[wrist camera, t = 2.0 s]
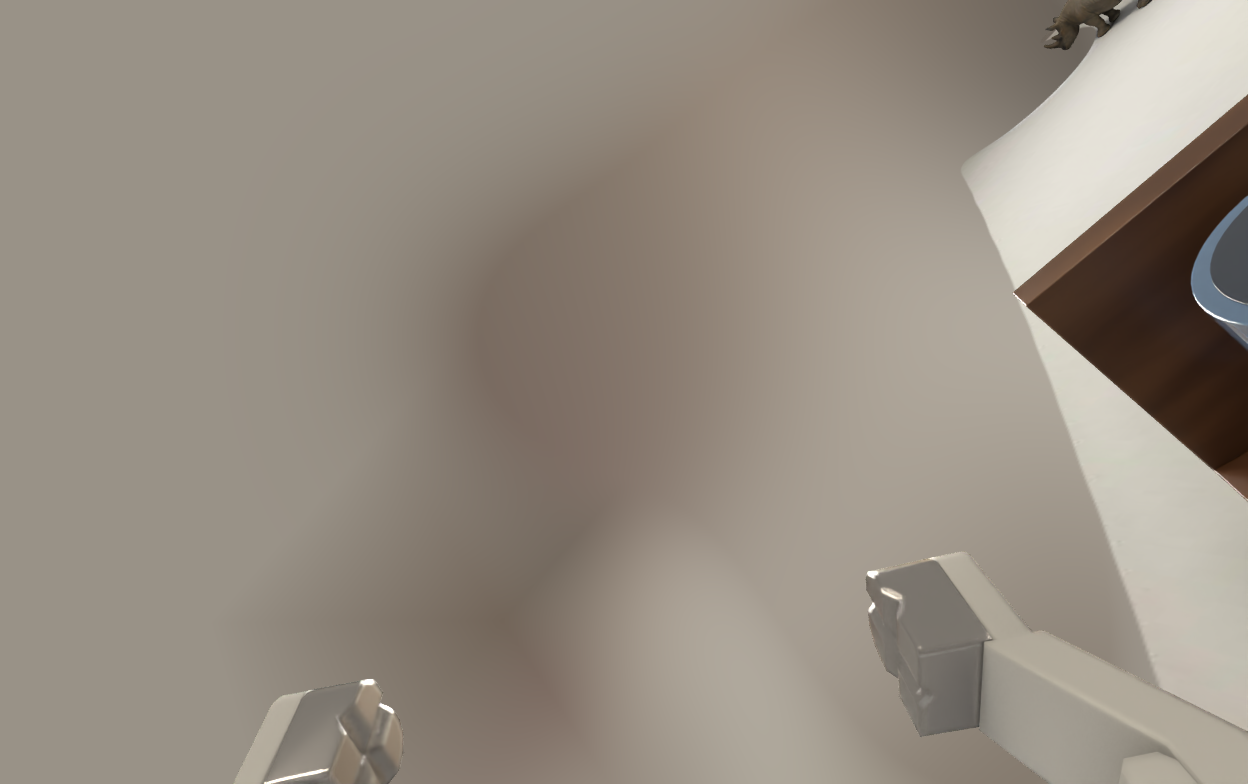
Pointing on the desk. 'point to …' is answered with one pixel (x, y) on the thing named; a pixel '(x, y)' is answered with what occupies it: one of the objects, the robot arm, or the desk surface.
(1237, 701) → the desk surface
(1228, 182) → the miniature wooden chair
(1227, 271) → the cup
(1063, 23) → the rhino figurine
